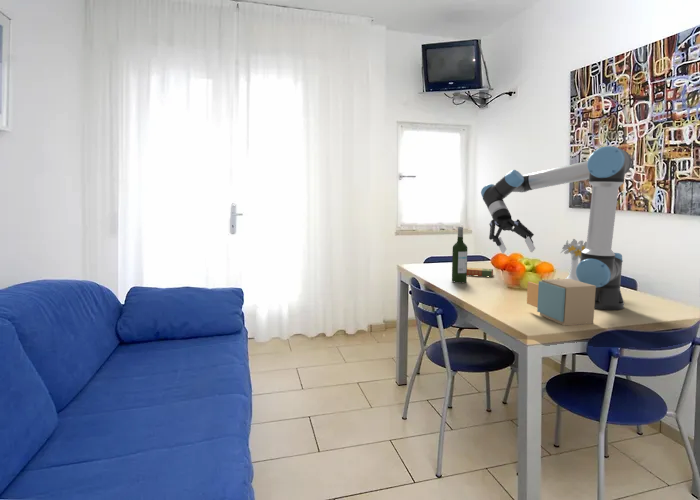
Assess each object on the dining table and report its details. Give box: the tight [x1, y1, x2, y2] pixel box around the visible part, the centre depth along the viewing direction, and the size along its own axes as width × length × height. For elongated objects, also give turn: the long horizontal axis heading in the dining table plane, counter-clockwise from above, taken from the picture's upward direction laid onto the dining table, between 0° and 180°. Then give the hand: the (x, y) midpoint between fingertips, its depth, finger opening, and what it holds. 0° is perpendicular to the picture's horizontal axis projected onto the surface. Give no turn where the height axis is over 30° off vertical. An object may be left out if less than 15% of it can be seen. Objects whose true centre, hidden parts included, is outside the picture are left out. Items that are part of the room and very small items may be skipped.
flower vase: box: [560, 238, 587, 281], centre depth 208 cm, size 13×18×25 cm
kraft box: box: [539, 278, 596, 326], centre depth 160 cm, size 12×14×14 cm
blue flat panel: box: [526, 280, 565, 322], centre depth 162 cm, size 1×21×12 cm, turn 11°
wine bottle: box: [451, 226, 468, 283], centre depth 231 cm, size 8×8×30 cm
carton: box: [467, 266, 494, 278], centre depth 251 cm, size 8×16×4 cm, turn 66°
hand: (518, 250), depth 177 cm, fingers open, 13 cm apart
